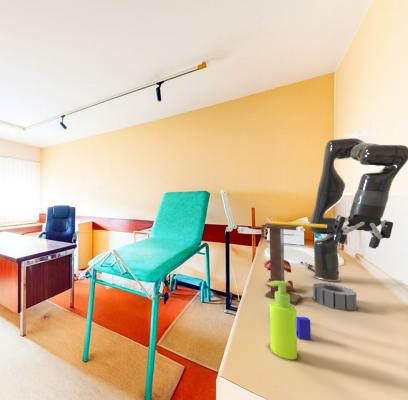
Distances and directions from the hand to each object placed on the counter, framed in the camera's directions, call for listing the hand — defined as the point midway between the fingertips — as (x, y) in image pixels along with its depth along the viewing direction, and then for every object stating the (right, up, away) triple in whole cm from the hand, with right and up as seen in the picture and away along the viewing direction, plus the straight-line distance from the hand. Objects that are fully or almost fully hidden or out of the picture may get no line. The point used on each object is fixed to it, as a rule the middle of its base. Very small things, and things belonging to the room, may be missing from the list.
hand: (356, 245), depth 79 cm
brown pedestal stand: (-14, -26, +15) cm, 34 cm away
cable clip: (-30, -27, -7) cm, 41 cm away
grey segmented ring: (+2, -26, +10) cm, 28 cm away
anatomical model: (-7, -26, +26) cm, 38 cm away
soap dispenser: (-43, -27, -18) cm, 53 cm away
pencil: (-13, +6, +12) cm, 19 cm away
